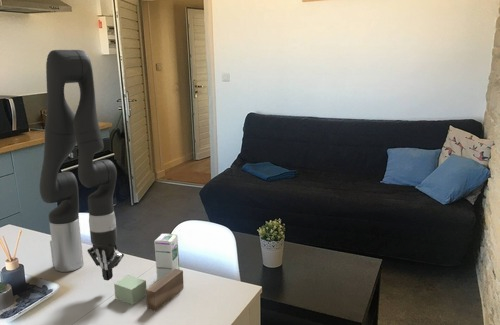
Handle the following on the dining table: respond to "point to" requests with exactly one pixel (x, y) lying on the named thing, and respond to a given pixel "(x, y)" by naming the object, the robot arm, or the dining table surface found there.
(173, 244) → the syrup box
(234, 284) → the dining table surface
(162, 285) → the walnut board
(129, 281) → the sage block
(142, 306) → the dining table surface
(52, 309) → the dining table surface
